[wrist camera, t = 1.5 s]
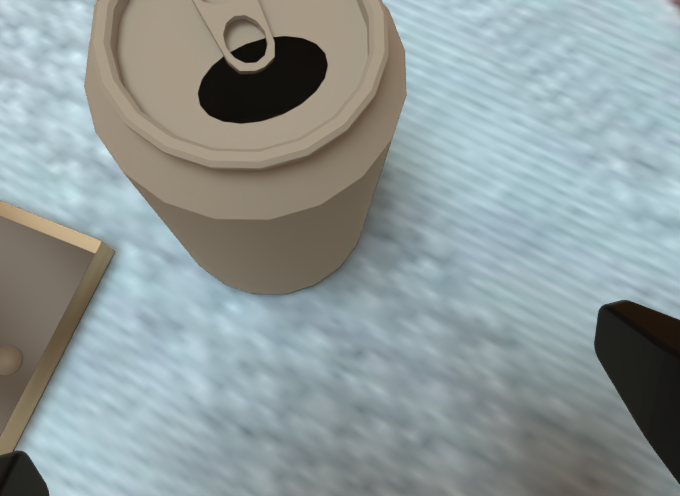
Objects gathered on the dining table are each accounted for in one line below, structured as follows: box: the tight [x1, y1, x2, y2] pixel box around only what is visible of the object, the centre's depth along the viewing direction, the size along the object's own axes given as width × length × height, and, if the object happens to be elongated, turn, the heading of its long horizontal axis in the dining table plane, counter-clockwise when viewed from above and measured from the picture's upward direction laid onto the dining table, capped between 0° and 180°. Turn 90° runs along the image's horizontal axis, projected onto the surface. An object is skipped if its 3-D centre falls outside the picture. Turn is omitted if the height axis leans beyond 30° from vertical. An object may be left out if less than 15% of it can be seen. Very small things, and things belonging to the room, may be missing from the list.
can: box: [84, 0, 406, 294], centre depth 18 cm, size 8×8×12 cm
